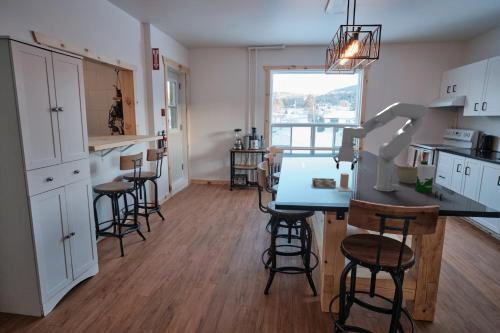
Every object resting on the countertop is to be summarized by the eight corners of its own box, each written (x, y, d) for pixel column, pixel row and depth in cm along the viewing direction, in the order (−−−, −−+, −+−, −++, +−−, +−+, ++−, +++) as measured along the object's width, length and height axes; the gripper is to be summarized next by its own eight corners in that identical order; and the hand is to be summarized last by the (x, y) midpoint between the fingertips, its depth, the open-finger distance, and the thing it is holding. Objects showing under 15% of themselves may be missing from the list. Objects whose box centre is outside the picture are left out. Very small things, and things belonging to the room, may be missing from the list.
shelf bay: (333, 184, 210) (333, 178, 209) (335, 187, 202) (336, 181, 201) (312, 183, 211) (312, 177, 211) (313, 186, 203) (313, 180, 202)
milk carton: (423, 189, 200) (426, 160, 196) (434, 192, 192) (438, 162, 188) (412, 190, 198) (416, 161, 194) (423, 193, 189) (427, 163, 186)
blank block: (346, 185, 207) (347, 173, 206) (347, 187, 203) (348, 174, 201) (339, 185, 208) (340, 173, 206) (341, 187, 203) (342, 174, 202)
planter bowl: (418, 186, 209) (419, 171, 207) (393, 182, 218) (394, 168, 216) (419, 181, 222) (421, 167, 220) (396, 179, 231) (397, 165, 229)
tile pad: (349, 188, 201) (349, 187, 200) (353, 191, 192) (353, 190, 192) (336, 187, 201) (336, 186, 201) (339, 191, 193) (339, 190, 193)
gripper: (358, 145, 203) (356, 169, 206) (333, 143, 204) (331, 167, 208) (361, 146, 196) (359, 171, 199) (335, 145, 197) (333, 169, 200)
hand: (344, 169), depth 203 cm, fingers open, 9 cm apart
